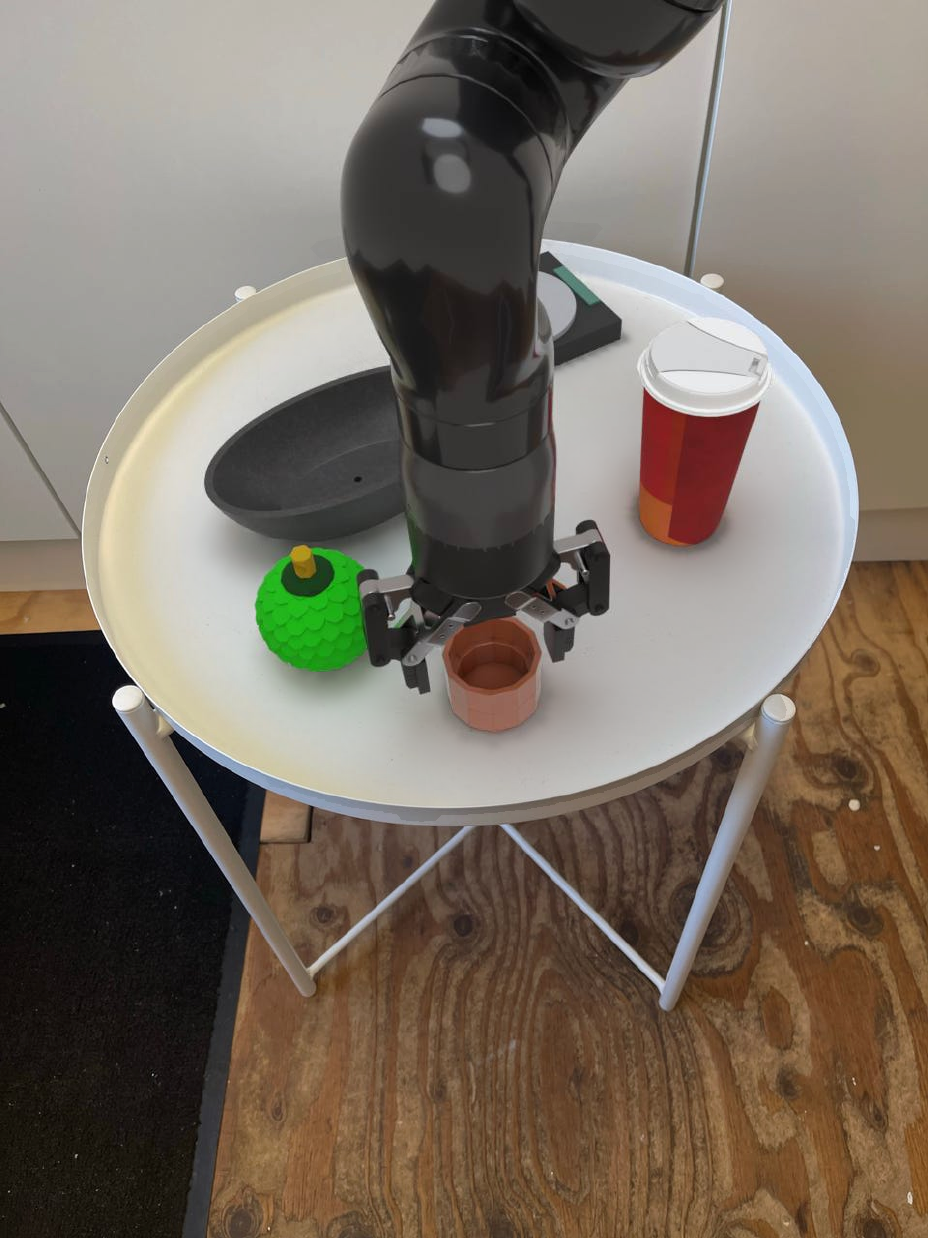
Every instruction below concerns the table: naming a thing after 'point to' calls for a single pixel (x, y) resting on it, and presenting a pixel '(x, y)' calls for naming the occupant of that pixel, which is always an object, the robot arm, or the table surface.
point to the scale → (573, 312)
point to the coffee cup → (696, 423)
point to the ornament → (312, 609)
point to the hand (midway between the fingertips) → (488, 665)
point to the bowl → (314, 463)
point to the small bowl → (493, 673)
